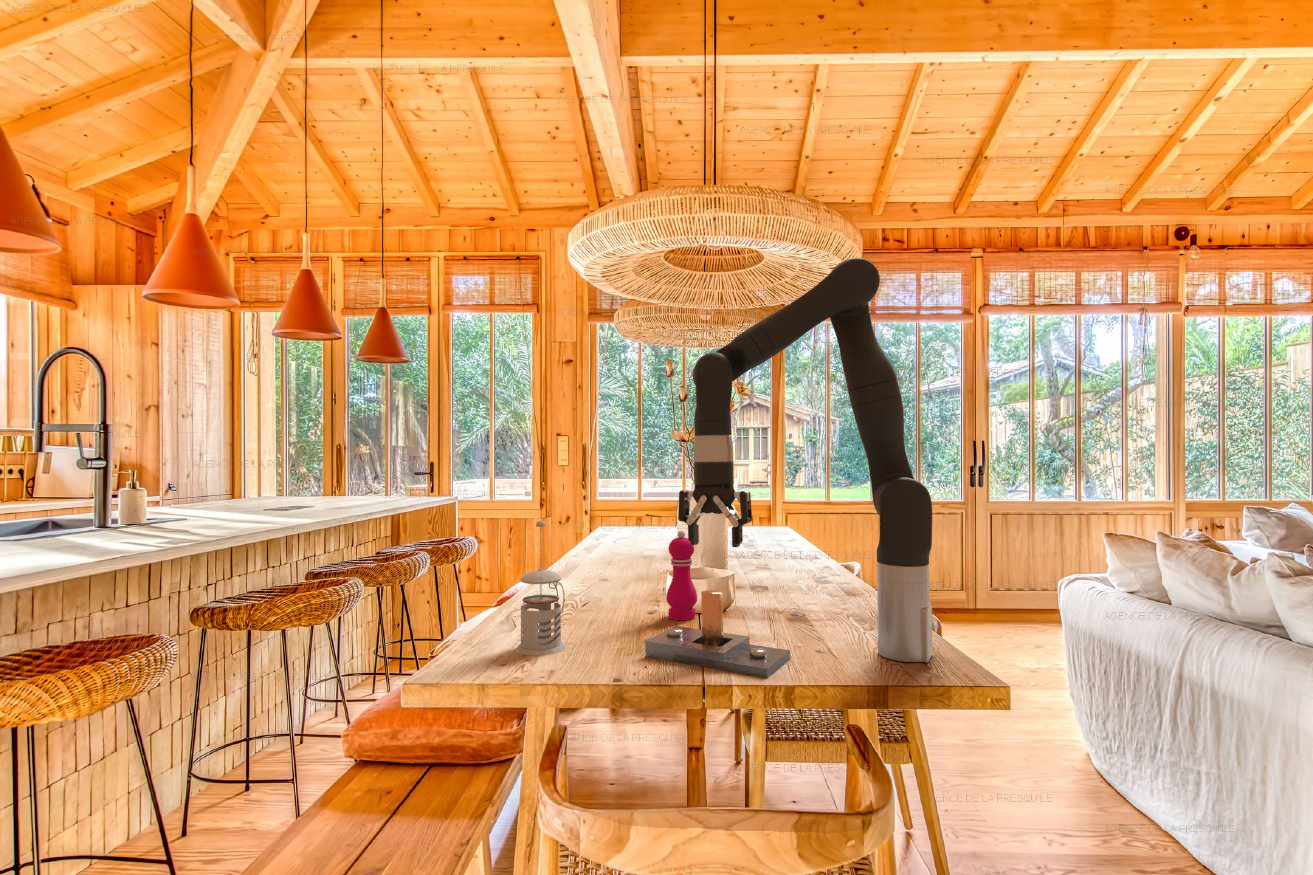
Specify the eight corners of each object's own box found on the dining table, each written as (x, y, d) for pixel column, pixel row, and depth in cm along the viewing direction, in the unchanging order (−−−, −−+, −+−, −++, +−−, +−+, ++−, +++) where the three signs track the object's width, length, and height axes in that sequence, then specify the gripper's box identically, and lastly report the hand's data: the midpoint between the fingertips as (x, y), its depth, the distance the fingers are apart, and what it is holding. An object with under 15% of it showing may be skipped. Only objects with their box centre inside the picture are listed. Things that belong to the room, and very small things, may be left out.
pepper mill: (700, 614, 156) (699, 529, 157) (693, 621, 149) (693, 532, 150) (670, 612, 158) (670, 528, 159) (662, 619, 151) (662, 532, 152)
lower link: (790, 658, 122) (790, 644, 122) (767, 677, 112) (767, 662, 112) (702, 644, 131) (702, 632, 131) (673, 661, 121) (673, 647, 121)
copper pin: (726, 655, 124) (726, 591, 124) (717, 661, 121) (717, 595, 121) (707, 652, 126) (706, 589, 126) (698, 658, 123) (697, 593, 123)
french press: (504, 651, 128) (504, 521, 128) (542, 636, 138) (541, 516, 139) (545, 658, 123) (545, 523, 124) (581, 642, 133) (580, 518, 134)
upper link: (749, 652, 126) (749, 631, 126) (723, 670, 116) (723, 647, 116) (675, 640, 134) (675, 620, 134) (645, 656, 124) (645, 635, 124)
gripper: (756, 459, 125) (757, 545, 125) (688, 459, 132) (690, 541, 131) (741, 459, 118) (742, 550, 118) (671, 460, 125) (672, 546, 125)
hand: (714, 545), depth 125 cm, fingers open, 8 cm apart
